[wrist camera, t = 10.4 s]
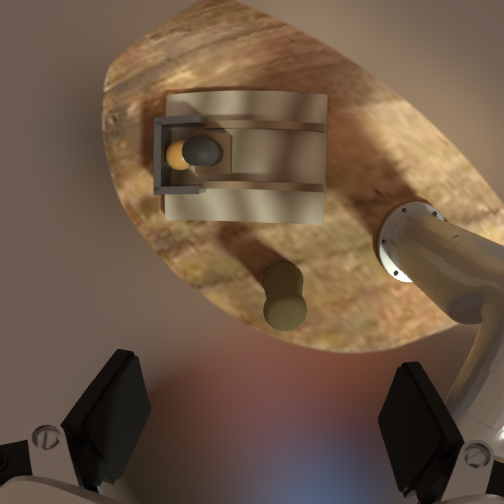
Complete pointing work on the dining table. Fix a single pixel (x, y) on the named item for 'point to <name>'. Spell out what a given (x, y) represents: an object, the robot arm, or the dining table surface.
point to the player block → (209, 153)
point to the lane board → (256, 157)
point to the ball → (176, 156)
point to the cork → (284, 296)
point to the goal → (160, 147)
